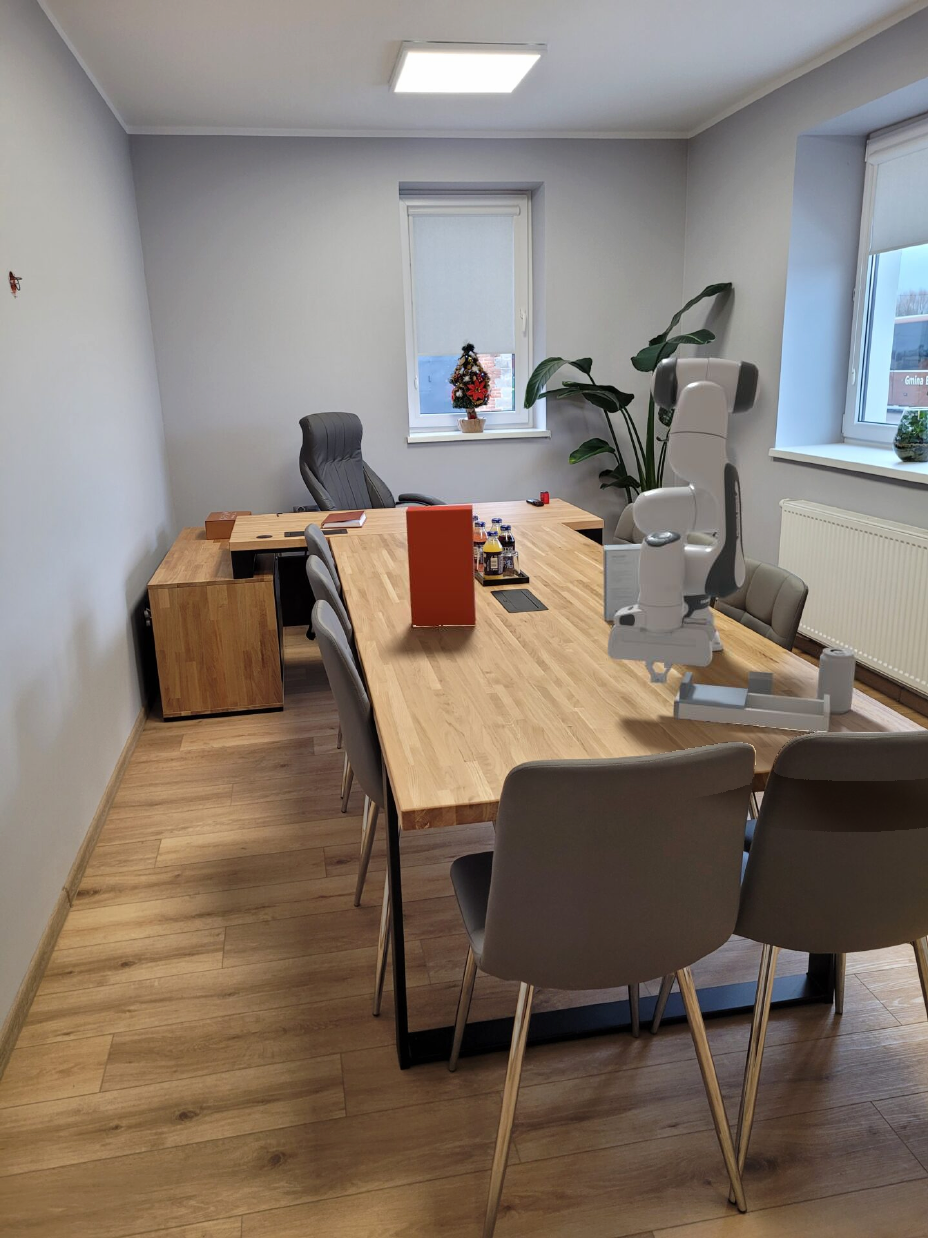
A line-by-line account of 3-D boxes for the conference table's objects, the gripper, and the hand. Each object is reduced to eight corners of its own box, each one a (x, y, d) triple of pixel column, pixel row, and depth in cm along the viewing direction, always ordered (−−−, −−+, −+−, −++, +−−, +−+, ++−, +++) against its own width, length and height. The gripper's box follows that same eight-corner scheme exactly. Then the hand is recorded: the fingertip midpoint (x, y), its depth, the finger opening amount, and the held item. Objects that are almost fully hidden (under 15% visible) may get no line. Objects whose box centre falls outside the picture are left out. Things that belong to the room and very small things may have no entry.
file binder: (475, 626, 239) (471, 508, 230) (411, 628, 239) (405, 510, 231) (475, 618, 246) (472, 504, 238) (414, 620, 247) (408, 506, 239)
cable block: (771, 696, 182) (772, 673, 181) (770, 703, 178) (771, 680, 177) (748, 693, 184) (749, 671, 182) (746, 701, 180) (748, 678, 178)
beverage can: (842, 702, 177) (847, 645, 174) (856, 714, 171) (862, 655, 168) (810, 703, 177) (815, 646, 174) (824, 715, 171) (829, 656, 168)
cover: (686, 686, 179) (686, 671, 179) (747, 692, 175) (748, 677, 174) (679, 702, 171) (679, 687, 170) (743, 709, 167) (744, 693, 166)
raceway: (680, 701, 181) (681, 680, 179) (827, 716, 170) (829, 694, 169) (673, 717, 172) (673, 696, 171) (827, 734, 162) (829, 712, 161)
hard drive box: (658, 613, 245) (660, 543, 240) (662, 621, 238) (664, 548, 233) (602, 614, 247) (603, 544, 242) (603, 621, 240) (604, 549, 234)
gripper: (716, 615, 172) (713, 682, 175) (612, 608, 179) (612, 673, 183) (713, 623, 166) (710, 692, 170) (605, 616, 173) (605, 682, 177)
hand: (658, 682), depth 176 cm, fingers closed
